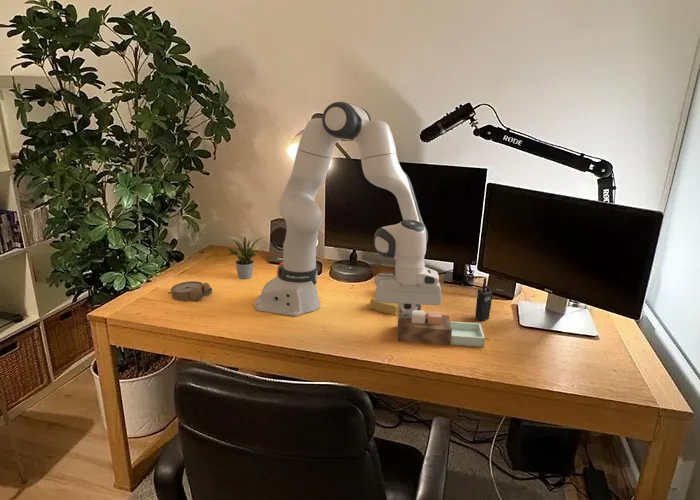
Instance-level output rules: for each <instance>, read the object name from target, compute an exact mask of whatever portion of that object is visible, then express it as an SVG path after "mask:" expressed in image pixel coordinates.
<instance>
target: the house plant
mask: <svg viewBox="0 0 700 500" xmlns="http://www.w3.org/2000/svg"><path fill="white" fill-rule="evenodd" d="M262 239H263V237H261V238H257V239H248V241H247V236H246V235H244V237H243V242H242V243H243V244H242V243H241V242H240V241H239V240H236V239H231V238H230V241H232V242H233V243H235V245H236V246H237V247H236V246H235V245H233V244H232V243H229V242H228V243H227V244H228V245H231V246H233V247H234V248H235V249H233V248H231V247H227V246H225V247H224V248H225V249H227V250H228V251H230V253H228V255H227V256H230V255H234V256H235V257H237V258H238V260H236V261H235V267H236V271H237V278H238V279H240V280H250V279H251V278H253V273H254V265H255V261H254V260H253V259H252V258H253V257H257V255H259V254H258V253H257V252H258V251H257V250H254V249H255V247H256V244H257V242H258V241H260V240H262ZM253 241H254V242H253ZM251 242H253V243H251ZM259 243H260V242H259ZM259 243H258V244H257V245H259ZM250 244H252V245H251V246H250Z"/></svg>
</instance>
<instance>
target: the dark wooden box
mask: <svg viewBox="0 0 700 500" xmlns="http://www.w3.org/2000/svg"><path fill="white" fill-rule="evenodd" d="M427 315H428V313H425V324H422V323H412V322H411V317H409V316H402V311H401V312H398V314H397V333H396V334H397V339H396V340H397V342H404V343H405V342H407V343H420V344H421V343H422V344H434V345H447V346H449V345H450V344H451V334H452V328H451V323H450V321H451V318H450V315H445V314H444V315H443V314H441V316H442V320H441V325H437V324H428V320H427ZM450 346H451V345H450Z"/></svg>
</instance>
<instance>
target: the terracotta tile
mask: <svg viewBox="0 0 700 500" xmlns="http://www.w3.org/2000/svg"><path fill="white" fill-rule="evenodd" d="M427 314H428V315H427V320H428V324H437V325H441V320H442V316H441V315H442V312H441V311H435V310H433V311H432V310H427Z"/></svg>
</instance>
